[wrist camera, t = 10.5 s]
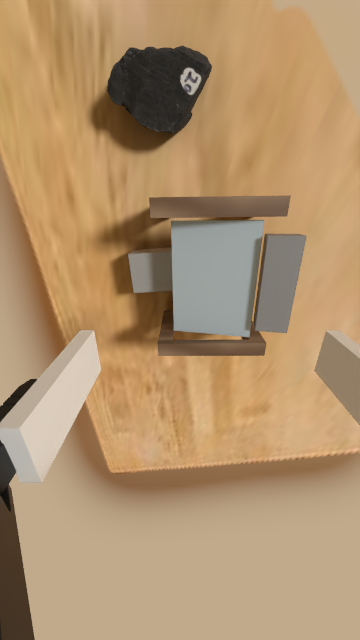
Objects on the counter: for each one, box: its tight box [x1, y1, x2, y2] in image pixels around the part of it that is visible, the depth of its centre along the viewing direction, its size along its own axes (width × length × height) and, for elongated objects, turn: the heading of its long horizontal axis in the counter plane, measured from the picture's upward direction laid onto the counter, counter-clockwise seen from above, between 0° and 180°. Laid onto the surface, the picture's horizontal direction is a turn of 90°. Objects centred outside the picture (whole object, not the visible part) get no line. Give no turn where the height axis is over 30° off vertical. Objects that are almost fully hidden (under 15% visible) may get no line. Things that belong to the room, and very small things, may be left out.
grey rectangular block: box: [128, 247, 173, 293], centre depth 38 cm, size 6×5×8 cm
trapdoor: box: [171, 220, 306, 337], centre depth 31 cm, size 15×16×3 cm
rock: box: [108, 46, 212, 134], centre depth 28 cm, size 10×9×6 cm
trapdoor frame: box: [149, 196, 290, 356], centre depth 34 cm, size 20×15×12 cm
